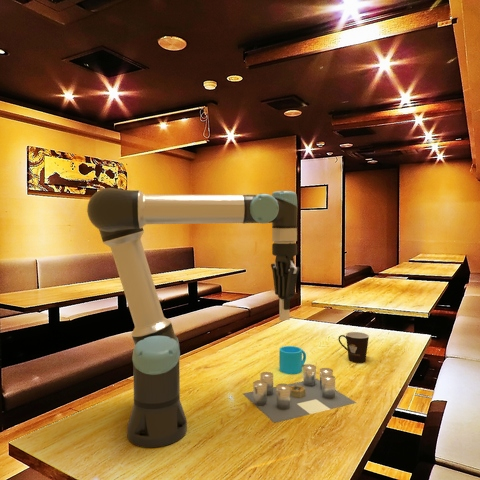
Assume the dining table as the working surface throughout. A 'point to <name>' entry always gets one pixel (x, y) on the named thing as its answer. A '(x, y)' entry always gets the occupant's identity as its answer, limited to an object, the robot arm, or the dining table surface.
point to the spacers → (265, 386)
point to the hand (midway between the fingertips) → (284, 319)
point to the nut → (297, 391)
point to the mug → (291, 359)
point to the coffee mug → (356, 346)
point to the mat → (301, 403)
